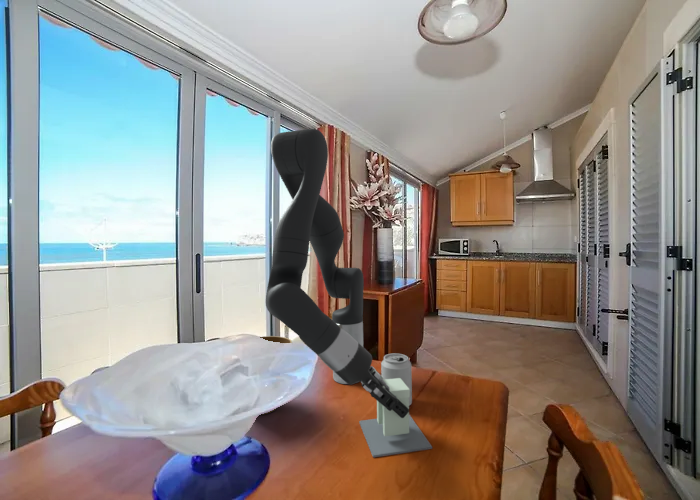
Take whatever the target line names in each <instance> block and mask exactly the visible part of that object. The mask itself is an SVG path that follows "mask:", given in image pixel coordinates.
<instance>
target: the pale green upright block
mask: <svg viewBox="0 0 700 500" xmlns="http://www.w3.org/2000/svg"><path fill="white" fill-rule="evenodd" d="M383 381H384V382H385V383H386V384H387V385H388V386H389V387H390V392H392V393H393V394H394V395H396V396H397V398H398V400H400V401H401V402H402V403H403V404H404V405H405V406H406V407H407V408H408V409H409V410H410V406H409V397H410V389H409V388H408V387H407V386H406V384H405V383H404V382H403V381H402V380H401V378H395V379H385V380H383ZM383 387H384V388H385V386H383ZM389 399H390V398H389ZM389 399H388V400H389ZM388 400H387V401H388ZM409 415H410V411H409V412H408V414H407V415H406V416H405V417H404V418H401V417H400V416H399V415H398V414H397V413H395V412H394V411H393V410H391V411H389V410H387V408H386V407H384V406H383V405H382V404H381V403H380V402H378V401H377V400H376V419H377V422H378V424H383V434H384V436H392V435H399V434H407V433H409Z"/></svg>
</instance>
